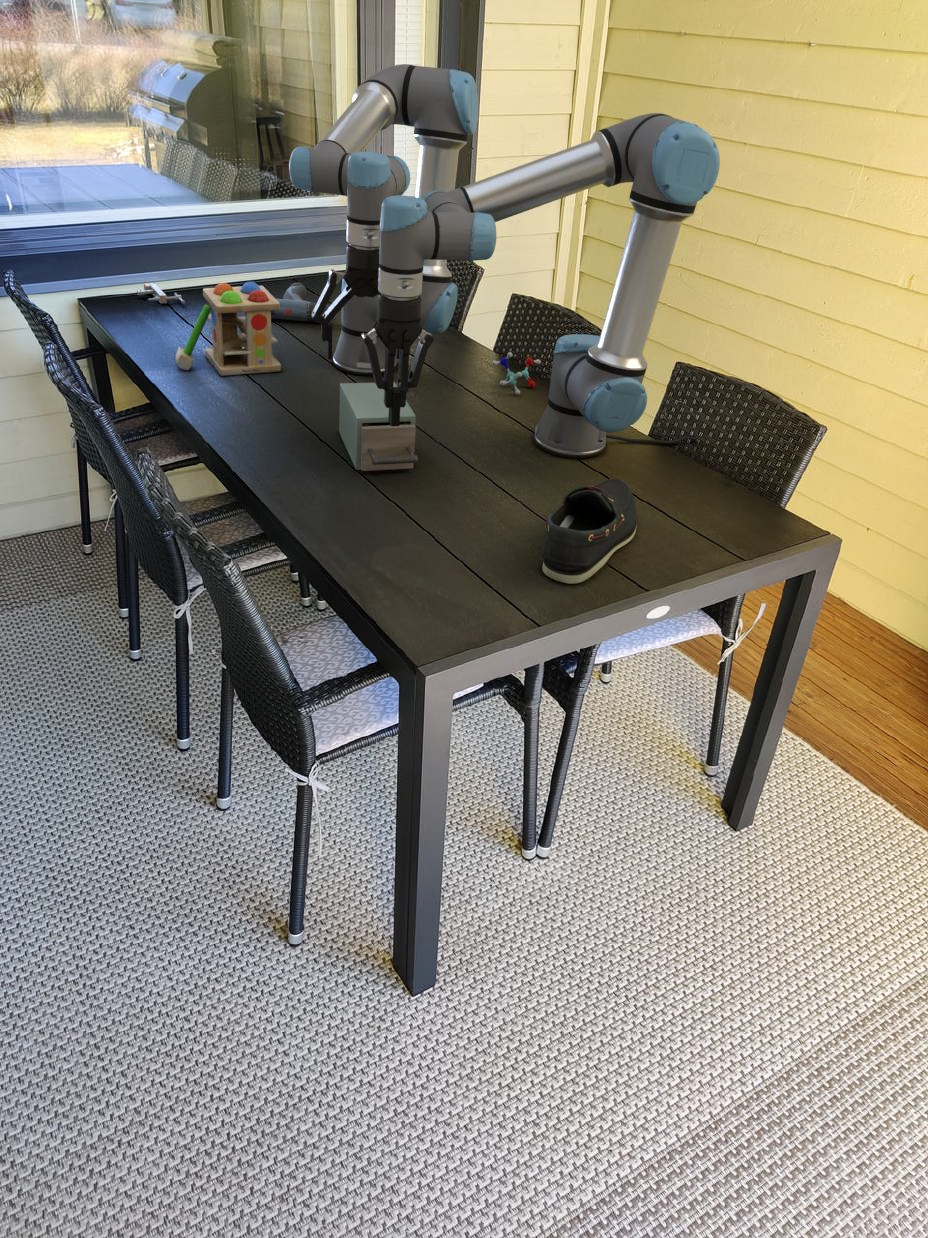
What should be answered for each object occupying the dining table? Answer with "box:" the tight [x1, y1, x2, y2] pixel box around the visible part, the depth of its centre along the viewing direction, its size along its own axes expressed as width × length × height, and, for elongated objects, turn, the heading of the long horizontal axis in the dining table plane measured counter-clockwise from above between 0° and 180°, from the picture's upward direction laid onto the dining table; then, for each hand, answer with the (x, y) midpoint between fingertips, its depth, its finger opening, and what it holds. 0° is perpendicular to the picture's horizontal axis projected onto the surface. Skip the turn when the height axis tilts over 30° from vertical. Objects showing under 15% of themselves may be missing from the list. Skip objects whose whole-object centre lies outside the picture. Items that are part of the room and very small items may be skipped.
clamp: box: [136, 283, 186, 305], centre depth 265 cm, size 15×2×10 cm
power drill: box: [271, 282, 338, 322], centre depth 265 cm, size 5×19×20 cm
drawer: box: [360, 421, 419, 472], centre depth 191 cm, size 22×10×9 cm, turn 17°
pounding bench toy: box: [174, 281, 282, 377], centre depth 225 cm, size 23×14×18 cm, turn 116°
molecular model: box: [491, 351, 542, 396], centre depth 231 cm, size 12×10×10 cm
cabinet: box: [338, 381, 417, 471], centre depth 196 cm, size 18×11×11 cm, turn 17°
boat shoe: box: [541, 478, 638, 585], centre depth 172 cm, size 13×33×10 cm, turn 147°
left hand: (363, 356), depth 193 cm, fingers open, 13 cm apart
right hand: (393, 423), depth 181 cm, fingers closed
